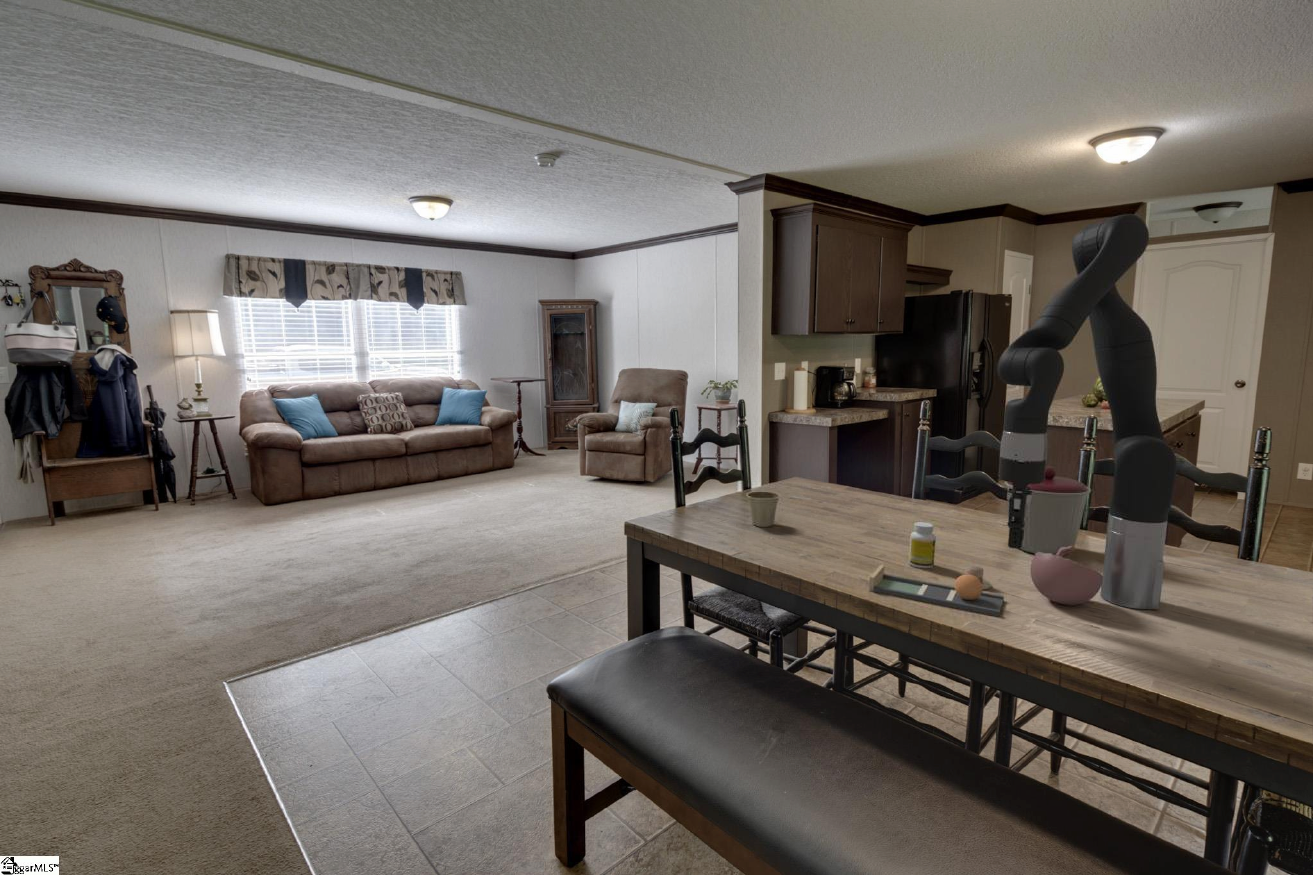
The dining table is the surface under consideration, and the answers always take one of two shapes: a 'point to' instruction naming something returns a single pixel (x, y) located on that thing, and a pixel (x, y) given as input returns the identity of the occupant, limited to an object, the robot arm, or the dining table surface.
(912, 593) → the lane
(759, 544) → the dining table surface
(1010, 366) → the robot arm
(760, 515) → the flower pot
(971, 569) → the beige brimmed cylinder
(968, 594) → the ball
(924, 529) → the supplement bottle
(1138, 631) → the dining table surface
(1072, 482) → the canister
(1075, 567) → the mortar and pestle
